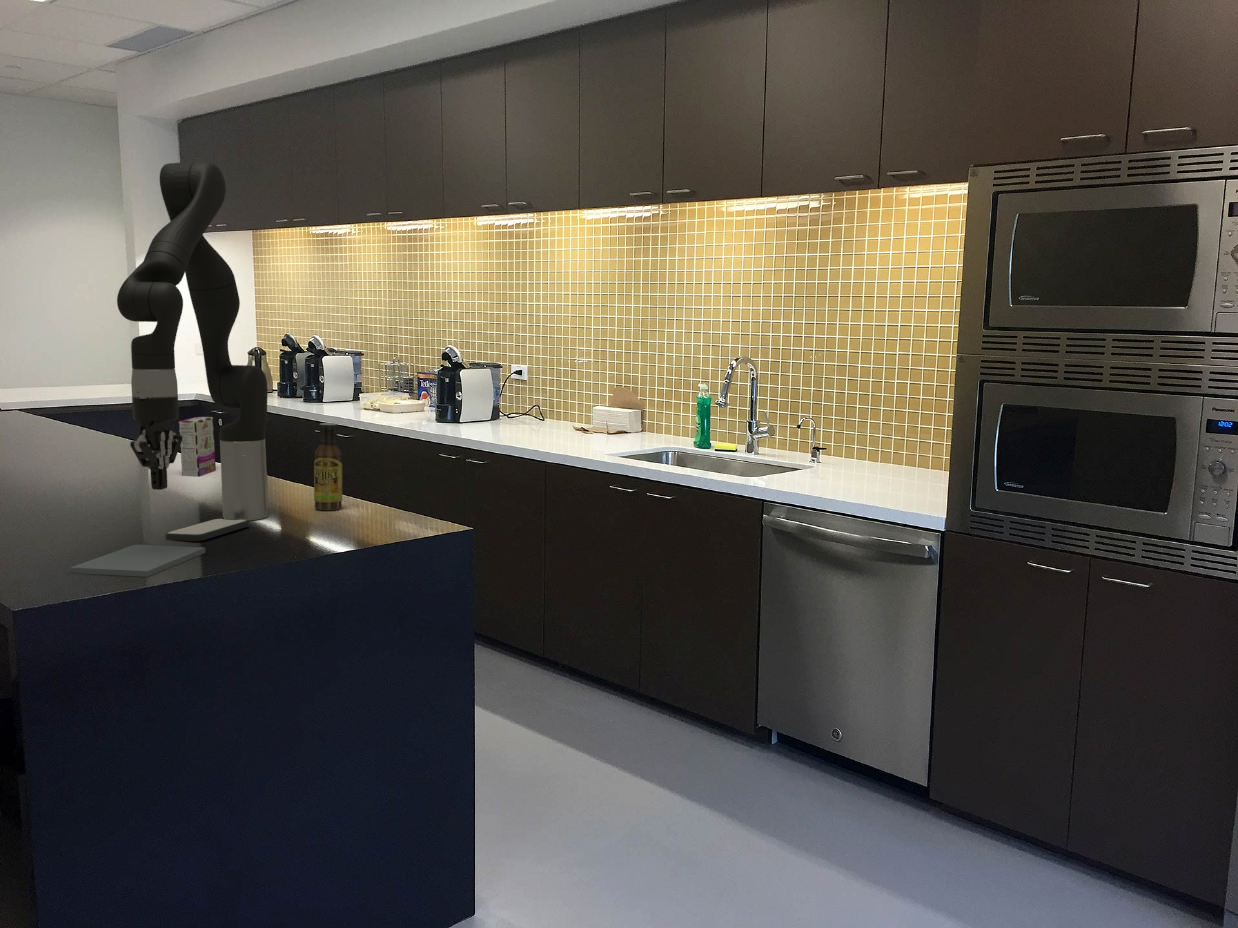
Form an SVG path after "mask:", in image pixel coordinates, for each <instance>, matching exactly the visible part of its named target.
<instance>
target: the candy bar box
mask: <svg viewBox="0 0 1238 928" xmlns="http://www.w3.org/2000/svg"><path fill="white" fill-rule="evenodd" d="M178 428H179V429H178V430H179V435H182V437H183V439H182V442H181V445H180V458H181V474H182V477H193V478H196V477H197V478H198V477H203V476H205V475H209V474H211V473H213V472H215V471H216V470H217V465H216V463H217V462H216V450H215V434H214V433H215V432H214V417H212V416H198V417H197V416H195V417H192V418H187V419H183V420H179V421H178Z"/></svg>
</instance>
